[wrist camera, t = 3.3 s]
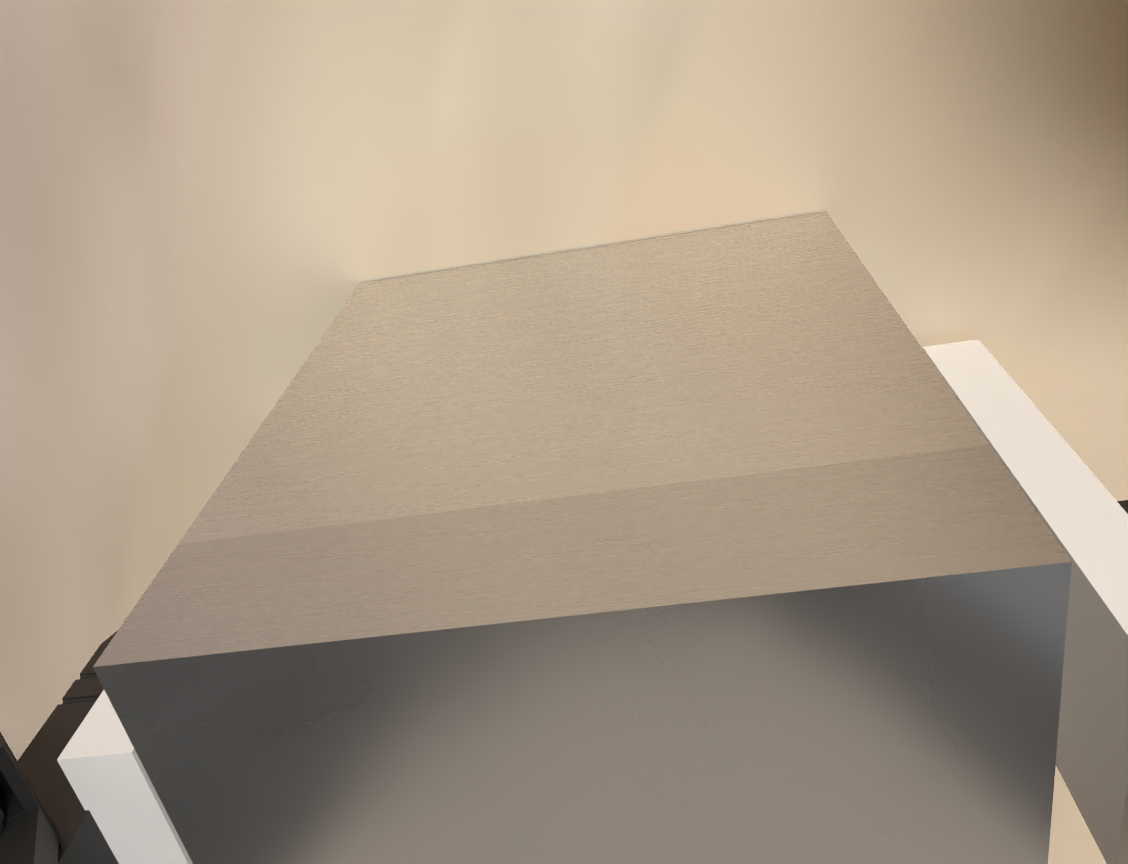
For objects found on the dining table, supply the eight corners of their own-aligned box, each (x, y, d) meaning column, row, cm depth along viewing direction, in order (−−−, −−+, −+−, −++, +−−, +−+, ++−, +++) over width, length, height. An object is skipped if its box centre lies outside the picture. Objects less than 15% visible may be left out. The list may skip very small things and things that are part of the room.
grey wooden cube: (360, 283, 14) (92, 666, 7) (825, 211, 13) (1071, 562, 6) (459, 640, 17) (346, 1165, 10) (845, 598, 16) (1025, 1139, 9)
